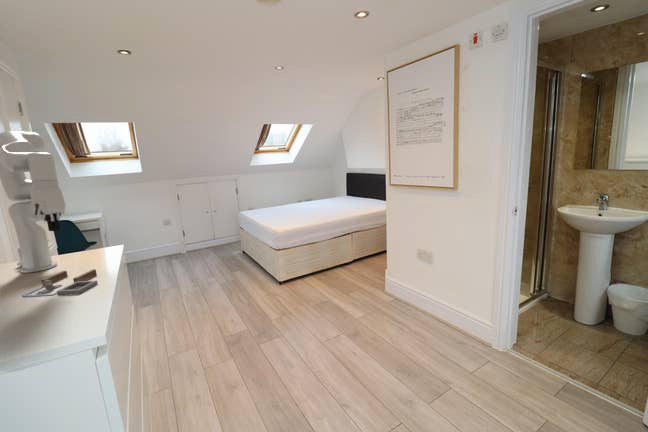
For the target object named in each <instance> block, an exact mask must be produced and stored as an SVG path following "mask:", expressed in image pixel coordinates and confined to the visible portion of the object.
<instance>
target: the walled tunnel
mask: <svg viewBox="0 0 648 432" xmlns="http://www.w3.org/2000/svg"><path fill="white" fill-rule="evenodd" d="M95 276H97V270H96V268H95V269H94V268H93V269H92V268H91V269H90V270H87V271H86V272H84V273H82V274H79V275H77V276H75V277H73V278H72V280H73V283H75V282H77V281H88V280H89V279H91V278H93V277H95ZM66 277H68V272H67V270H61V271H60V272H57V273H55V274H52V275H49V276H47V277H45V278H41V283H42V286H44V281H46V280H49V281H52V283H53V284H54V283H56V282H58V281H60V280H63V279H64V278H66ZM45 283H46V284H48V283H50V282H45Z"/></svg>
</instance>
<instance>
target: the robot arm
mask: <svg viewBox="0 0 648 432" xmlns="http://www.w3.org/2000/svg"><path fill="white" fill-rule="evenodd" d="M44 149H45V140H44V138H43V137H42V136H41V135H40V134H39V133H36V132H33V131H18V130H17V131H16V130H15V131H14V130H10V131H9V130H8V131H2V132H1V133H0V182H1V185H2V188H3V190H4V192H5V194H6V195H5V196H7V198H8V200H10V201H12V202H15V203H12V204H11V205H10V206H9V207H8V210H7V211H8V215H9V217H10V220H11V222H12V224H13V226H14V229H15V233H16V237H17V242H18V244H19V245H18V246H19V248H20V250H21V254H22V258H23V260H19V262H17V263H16V266H21V268H20V273H23V274H27V273H29V274H30V273H35V272H41V271H45V270H49V269H52V268H54V267H56V266H58V263H57V262H56V261H53V259H52V255H51V252H50V251H51V250H50V246H49V242H48V237H47V232H46V230H45V228H44V227H43V226H41V225H39V224H38V223H37V222H41V221H45V222H46V224H47V228H48V231H49V232H58V231H61V226H60V222H59V221H60V219H61V216H62V215H64V214H65V212H66V211H65V210H66V202H65V198H64V195H63V192H62V190H61V188H60V185H59V183H60V182H59V180H58V175H57V171H56V170H57V169H56V166H55V159H54V156H53V154H52V153H49V152H44ZM28 172H29V175H30V179H28V178H27V176H26V174H25V173H28Z"/></svg>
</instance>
